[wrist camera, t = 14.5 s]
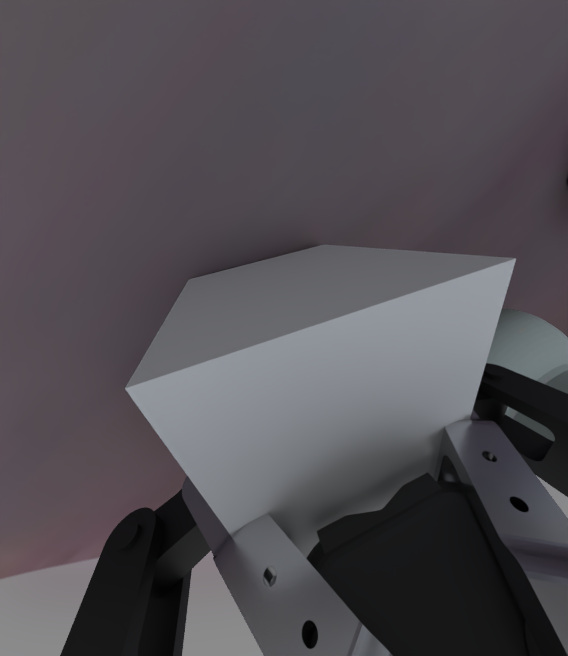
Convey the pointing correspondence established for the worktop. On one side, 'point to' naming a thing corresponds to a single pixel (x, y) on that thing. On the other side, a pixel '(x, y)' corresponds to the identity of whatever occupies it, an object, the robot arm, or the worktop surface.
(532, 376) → the air freshener
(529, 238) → the worktop surface
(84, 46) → the worktop surface
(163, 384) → the white rectangular block
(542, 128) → the worktop surface
